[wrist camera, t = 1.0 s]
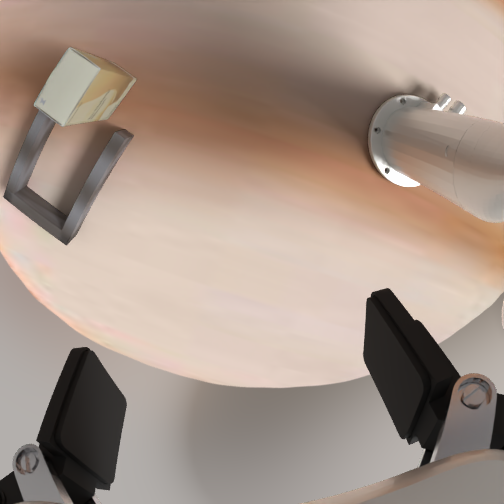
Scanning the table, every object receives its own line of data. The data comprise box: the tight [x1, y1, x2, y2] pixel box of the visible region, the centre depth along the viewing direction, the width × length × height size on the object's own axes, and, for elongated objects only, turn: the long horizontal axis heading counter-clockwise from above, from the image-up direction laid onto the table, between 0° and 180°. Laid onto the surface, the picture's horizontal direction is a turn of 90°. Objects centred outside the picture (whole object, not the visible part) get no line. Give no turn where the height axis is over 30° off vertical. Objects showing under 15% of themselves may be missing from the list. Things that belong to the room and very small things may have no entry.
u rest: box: [3, 110, 134, 245], centre depth 33 cm, size 16×12×4 cm
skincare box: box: [34, 47, 137, 127], centre depth 25 cm, size 6×4×12 cm
